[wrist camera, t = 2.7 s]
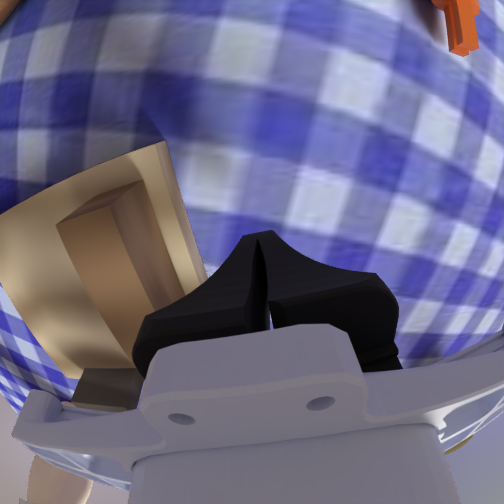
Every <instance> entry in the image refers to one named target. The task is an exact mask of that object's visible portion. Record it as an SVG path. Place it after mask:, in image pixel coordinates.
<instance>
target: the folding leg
mask: <svg viewBox="0 0 504 504" xmlns="http://www.w3.org/2000/svg"><path fill="white" fill-rule="evenodd" d="M55 226H56V228H57V230H58V233H59V235H60V237H61V240H62V242H63V244H64V246H65V249H66V251H67V253H68V255H69V257H70V259H71V261H72V263H73V265H74V267H75V269H76V271H77V273H78V275H79V277H80V279H81V281H82V283H83V285H84V287H85V289H86V290H87V292H88V294H89V296H90V298H91V299H92V301H93V303H94V305H95V306H96V308H97V310H98V311H99V313H100V315H101V316H102V318H103V320H104V321H105V323H106V324H107V326H108V328H109V329H110V331H111V332H112V334H113V335H114V337H115V338H116V340H117V342H118V343H119V344H120V346H121V347H122V349H123V350H124V352H125V353H126V355H127V356H128V357H129V359H130V360H131V362H132V363H133V360H132V350H133V346H134V343H135V340H136V338H137V335H138V332H139V330H140V327H141V325H142V322H143V320H144V317H145V316H146V315H148V314H151V313H153V312H155V311H157V310H160V309H162V308H164V307H166V306H168V305H170V304H172V303H174V302H176V301H177V300H179V299H181V298H182V297H184V296H185V293H184V291H183V288H182V286H181V283H180V281H179V278H178V276H177V273H176V271H175V268H174V266H173V263H172V261H171V258H170V255H169V253H168V250H167V247H166V245H165V242H164V239H163V237H162V234H161V231H160V228H159V225H158V223H157V220H156V217H155V214H154V211H153V208H152V205H151V202H150V199H149V196H148V193H147V190H146V187H145V183H144V180H143V179H142V180H139V181H136V182H133V183H130V184H127V185H124V186H121V187H118V188H115V189H112V190H110V191H107V192H104V193H101V194H99V195H96V196H94V197H93V198H92V199H90V200H89V201H87V202H86V203H84V204H83V205H82V206H80V207H79V208H77V209H76V210H75V211H73V212H72V213H70V214H69V215H68V216H66V217H65V218H64V219H62V220H61V221H60V222H59V223H57V224H56V225H55ZM133 364H134V363H133ZM134 366H135V365H134ZM136 369H137V368H136Z"/></svg>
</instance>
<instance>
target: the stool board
mask: <svg viewBox="0 0 504 504" xmlns="http://www.w3.org/2000/svg"><path fill="white" fill-rule="evenodd" d="M142 179H143V180H144V183H145V187H146V190H147V193H148V196H149V199H150V202H151V205H152V208H153V211H154V214H155V217H156V220H157V223H158V225H159V228H160V231H161V234H162V237H163V239H164V242H165V245H166V247H167V250H168V253H169V255H170V258H171V261H172V263H173V266H174V268H175V271H176V273H177V276H178V278H179V281H180V283H181V286H182V288H183V291H184V293H185V296H186V295H187V294H189V293H190V292H192V291H193V290H194V289H196V288H197V287H198V286H200V285H201V284H202V283H204V282H205V281H206V280H207V279H208V277H207V274H206V271H205V268H204V265H203V262H202V259H201V256H200V253H199V250H198V247H197V244H196V241H195V238H194V235H193V232H192V229H191V226H190V223H189V219H188V216H187V213H186V210H185V206H184V203H183V200H182V196H181V193H180V190H179V186H178V183H177V179H176V176H175V173H174V169H173V166H172V162H171V158H170V155H169V151H168V147H167V144H166V140H165V141H161V142H158V143H155V144H152V145H149V146H146V147H143V148H140V149H138V150H135V151H132V152H129V153H126V154H124V155H121V156H118V157H116V158H113V159H111V160H108V161H106V162H103V163H101V164H98V165H96V166H94V167H91V168H89V169H87V170H84V171H82V172H80V173H78V174H75V175H73V176H71V177H69V178H67V179H65V180H62V181H60V182H58V183H56V184H54V185H52V186H50V187H48V188H46V189H44V190H42V191H41V192H39V193H37V194H35V195H33V196H31V197H29V198H28V199H26V200H24V201H22V202H20V203H19V204H17V205H15V206H14V207H12V208H10V209H9V210H7V211H5V212H4V213H2V214H0V282H1V284H2V286H3V288H4V289H5V291H6V293H7V295H8V296H9V298H10V300H11V301H12V303H13V305H14V306H15V308H16V310H17V311H18V313H19V314H20V316H21V317H22V319H23V320H24V322H25V323H26V325H27V326H28V328H29V329H30V331H31V332H32V334H33V335H34V336H35V338H36V339H37V341H38V342H39V343H40V345H41V346H42V347H43V349H44V350H45V351H46V352H47V354H48V355H49V356H50V358H51V359H52V360H53V361H54V362H55V364H56V365H57V366H58V367H59V368H60V370H61V371H62V372H63V373H64V374H65V375H66V377H67V378H74V379H80V380H79V382H78V385H77V387H76V389H75V392H74V394H73V397H72V399H71V401H70V402H71V403H72V404H74V405H75V406H76V407H77V408H83V409H91V410H99V411H108V412H118V413H119V412H124V411H129V410H134V409H137V405H138V401H139V397H140V393H141V390H142V386H143V382H144V380H145V379H144V378H143V377H142V375H141V374H140V373H139V372H138V370H137V369H136V367H135V366H134V364H133V363H132V362H131V360H130V359H129V357H128V356H127V355H126V353H125V352H124V350H123V349H122V347H121V346H120V344H119V343H118V342H117V340H116V338H115V337H114V335H113V334H112V332H111V331H110V329H109V328H108V326H107V324H106V323H105V321H104V320H103V318H102V316H101V315H100V313H99V311H98V310H97V308H96V306H95V305H94V303H93V301H92V299H91V298H90V296H89V294H88V292H87V290H86V289H85V287H84V285H83V283H82V281H81V279H80V277H79V275H78V273H77V271H76V269H75V267H74V265H73V263H72V261H71V259H70V257H69V255H68V253H67V251H66V249H65V246H64V244H63V242H62V240H61V237H60V235H59V233H58V230H57V228H56V226H55V225H56V224H57V223H59V222H60V221H61V220H62V219H64V218H65V217H66V216H68V215H69V214H70V213H72V212H73V211H75V210H76V209H77V208H79V207H80V206H82V205H83V204H84V203H86V202H87V201H89V200H90V199H92V198H93V197H94V196H96V195H99V194H101V193H104V192H107V191H110V190H112V189H115V188H118V187H121V186H124V185H127V184H130V183H133V182H136V181H139V180H142Z"/></svg>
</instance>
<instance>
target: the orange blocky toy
mask: <svg viewBox="0 0 504 504" xmlns="http://www.w3.org/2000/svg"><path fill="white" fill-rule="evenodd" d="M431 1H432V3H433V4H434V5H435V6H436V7H437V8H439V9H440V10H442V11H444V13H445V20H446V27H447V35H448V45H449V52H451V53H454V54H457V55H460V56H462V57H464V56H466V55H468V54H469V50H470V51H474V50H476V49H479V46H478V38H477V31H476V25H475V19H474V16H476V15H478V14H479V13H480V8H479V3H478V0H431Z"/></svg>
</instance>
